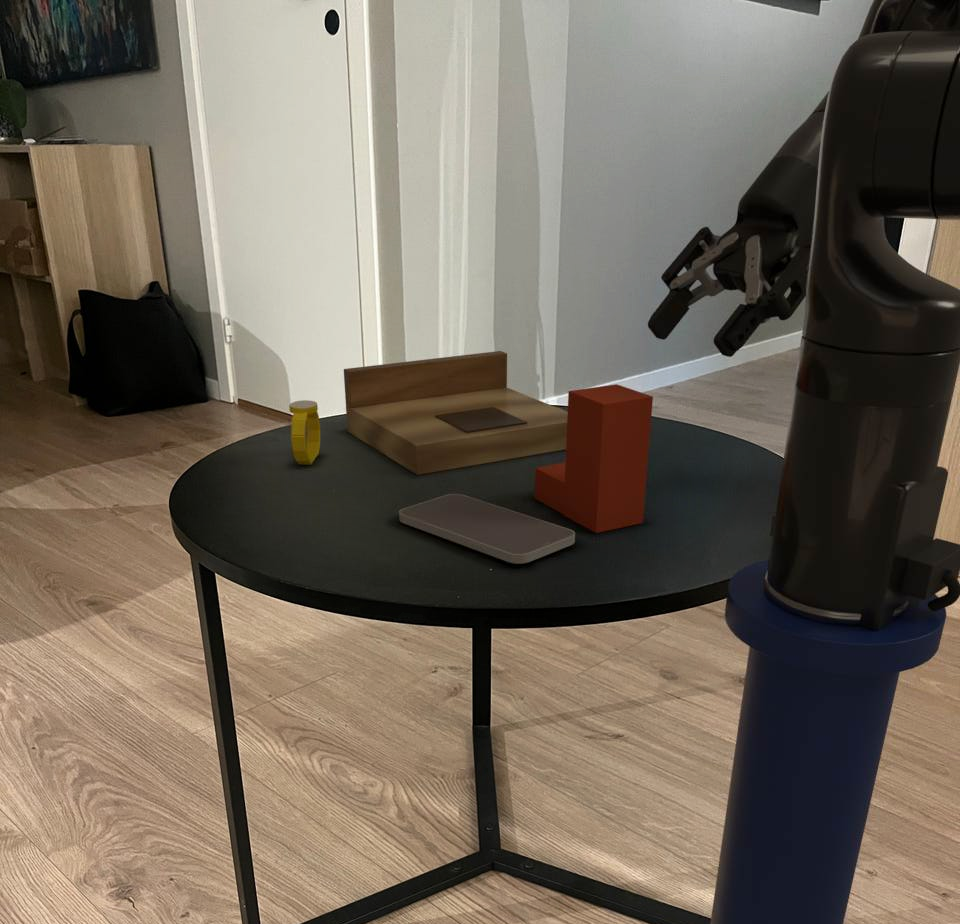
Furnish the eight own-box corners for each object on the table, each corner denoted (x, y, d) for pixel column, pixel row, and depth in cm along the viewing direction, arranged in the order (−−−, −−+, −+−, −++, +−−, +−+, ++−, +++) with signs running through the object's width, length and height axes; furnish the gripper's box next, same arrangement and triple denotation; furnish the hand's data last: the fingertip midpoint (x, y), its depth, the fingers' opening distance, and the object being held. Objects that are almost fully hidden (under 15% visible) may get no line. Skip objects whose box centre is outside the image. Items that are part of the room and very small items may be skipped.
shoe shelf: (584, 446, 106) (587, 380, 103) (417, 475, 97) (414, 404, 94) (500, 409, 120) (500, 350, 117) (347, 431, 111) (343, 368, 108)
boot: (643, 523, 85) (653, 396, 80) (595, 533, 83) (603, 403, 78) (578, 490, 93) (583, 372, 88) (533, 499, 91) (536, 379, 86)
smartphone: (455, 492, 90) (581, 532, 80) (455, 501, 90) (580, 543, 81) (393, 511, 85) (518, 557, 76) (393, 521, 86) (518, 568, 76)
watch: (303, 451, 104) (298, 395, 102) (328, 452, 104) (324, 396, 101) (287, 469, 99) (281, 410, 96) (313, 470, 99) (309, 411, 96)
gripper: (891, 226, 79) (765, 386, 80) (765, 214, 90) (655, 355, 91) (855, 154, 75) (722, 324, 75) (727, 151, 86) (612, 299, 86)
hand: (686, 341), depth 83 cm, fingers open, 8 cm apart
